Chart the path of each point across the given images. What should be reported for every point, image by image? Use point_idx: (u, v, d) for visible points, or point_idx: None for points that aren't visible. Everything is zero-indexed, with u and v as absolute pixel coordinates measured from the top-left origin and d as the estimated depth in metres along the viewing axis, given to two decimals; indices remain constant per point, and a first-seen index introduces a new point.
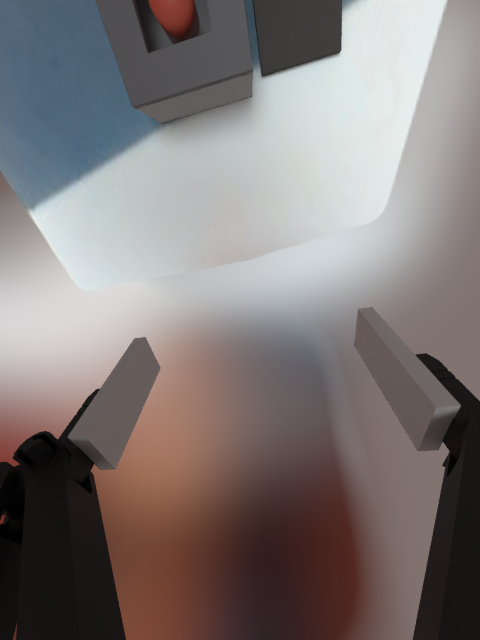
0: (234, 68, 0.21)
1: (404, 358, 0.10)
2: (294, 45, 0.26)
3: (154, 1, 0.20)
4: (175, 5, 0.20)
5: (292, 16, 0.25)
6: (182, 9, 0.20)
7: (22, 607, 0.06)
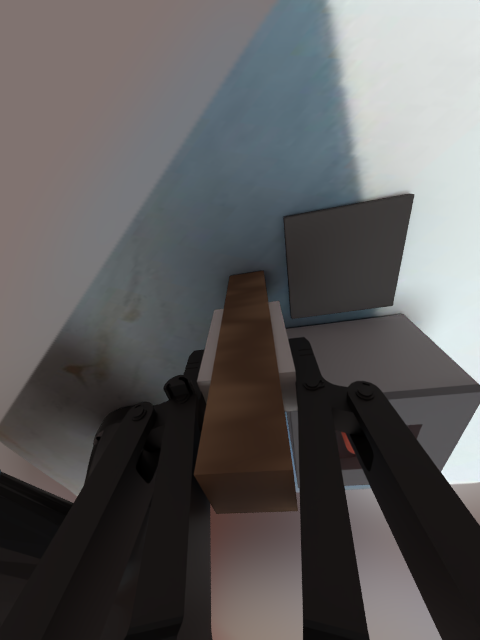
0: (470, 408, 0.15)
1: (278, 339, 0.12)
2: (380, 267, 0.19)
3: None
4: None
5: (353, 271, 0.19)
6: None
7: (150, 521, 0.07)
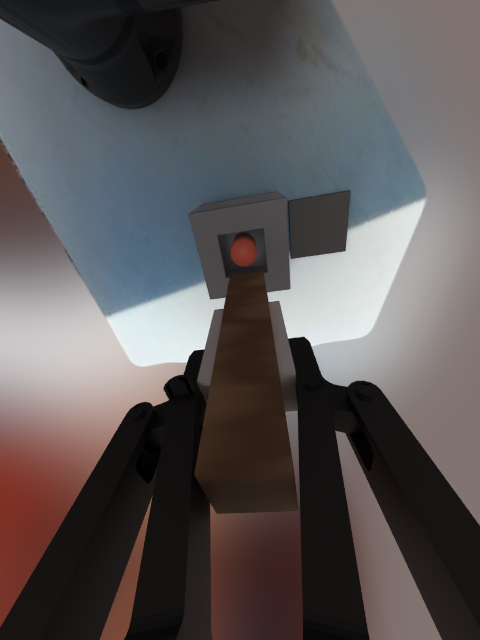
0: (279, 288, 0.34)
1: (278, 339, 0.12)
2: (314, 246, 0.39)
3: (234, 256, 0.32)
4: (247, 258, 0.32)
5: (314, 233, 0.38)
6: (250, 260, 0.32)
7: (150, 521, 0.07)
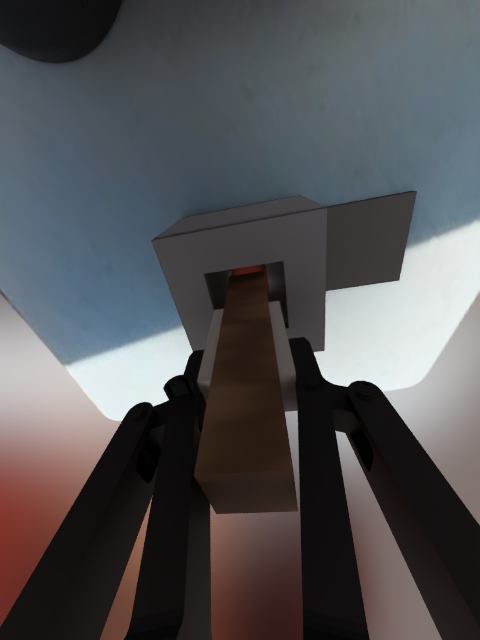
0: None
1: (278, 339, 0.12)
2: (353, 274, 0.26)
3: None
4: None
5: (354, 256, 0.25)
6: None
7: (150, 521, 0.07)
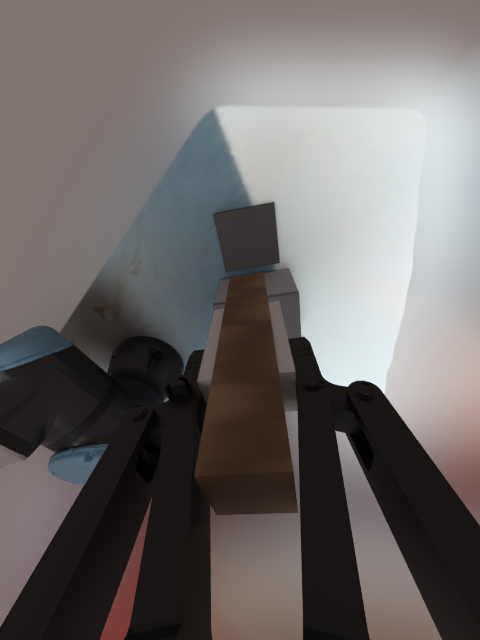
0: (296, 303, 0.32)
1: (278, 339, 0.12)
2: (267, 240, 0.36)
3: None
4: None
5: (254, 243, 0.37)
6: None
7: (150, 521, 0.07)
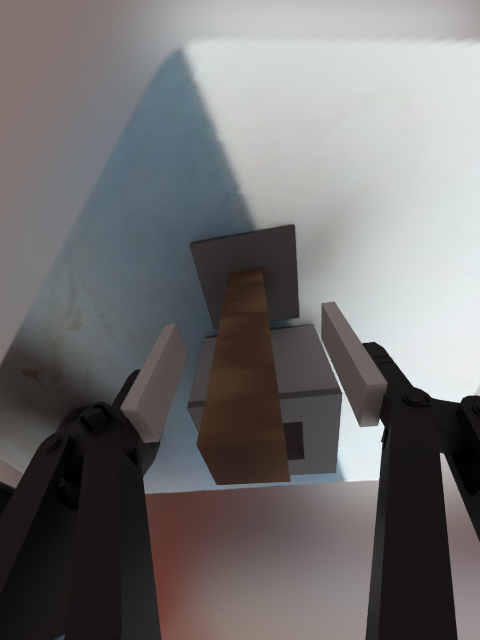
0: (335, 408, 0.18)
1: (351, 345, 0.11)
2: (281, 285, 0.22)
3: None
4: None
5: None
6: None
7: (75, 562, 0.06)
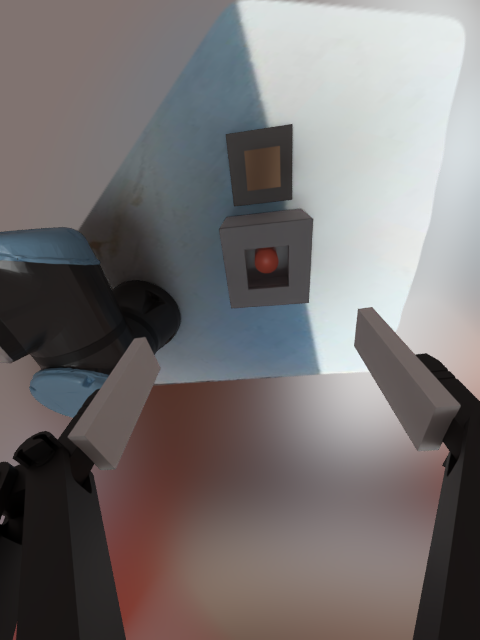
0: (309, 232, 0.30)
1: (404, 358, 0.10)
2: (281, 170, 0.34)
3: (268, 270, 0.36)
4: (271, 259, 0.35)
5: None
6: (273, 256, 0.35)
7: (23, 607, 0.06)
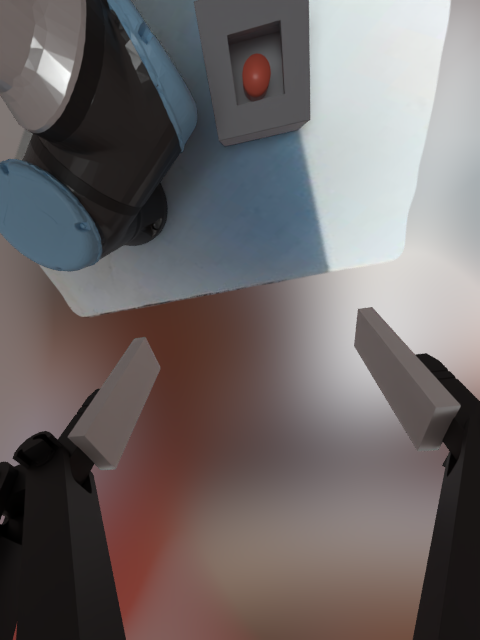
0: None
1: (404, 358, 0.10)
2: None
3: (259, 87, 0.30)
4: (261, 68, 0.29)
5: None
6: (264, 62, 0.29)
7: (22, 607, 0.06)
